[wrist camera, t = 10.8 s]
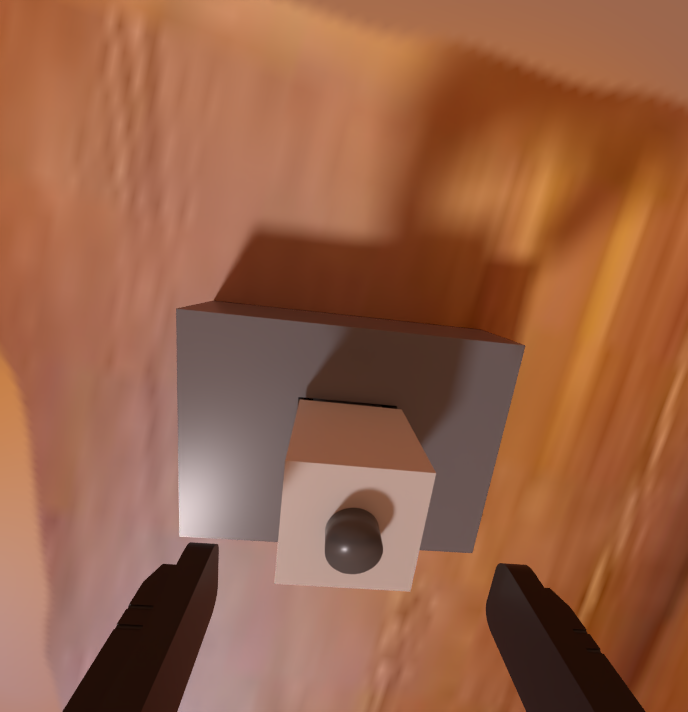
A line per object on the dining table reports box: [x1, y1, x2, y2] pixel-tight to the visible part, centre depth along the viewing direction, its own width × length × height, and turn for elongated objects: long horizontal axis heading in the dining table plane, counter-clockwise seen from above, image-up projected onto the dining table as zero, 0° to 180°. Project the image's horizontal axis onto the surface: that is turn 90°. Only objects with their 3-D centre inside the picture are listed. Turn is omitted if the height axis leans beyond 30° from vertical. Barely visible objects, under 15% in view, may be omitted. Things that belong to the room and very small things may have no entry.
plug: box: [274, 398, 436, 591], centre depth 15 cm, size 5×5×11 cm
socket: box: [176, 301, 525, 553], centre depth 18 cm, size 16×12×4 cm
